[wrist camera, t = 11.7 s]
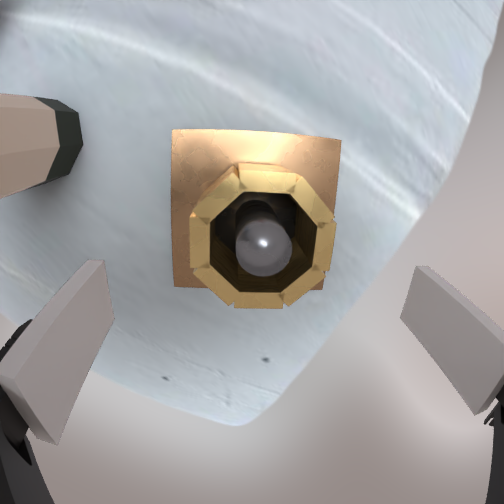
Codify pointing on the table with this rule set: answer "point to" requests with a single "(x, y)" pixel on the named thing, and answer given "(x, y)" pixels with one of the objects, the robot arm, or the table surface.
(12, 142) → the wine bottle
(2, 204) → the table surface
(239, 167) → the collar
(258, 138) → the doorknob
